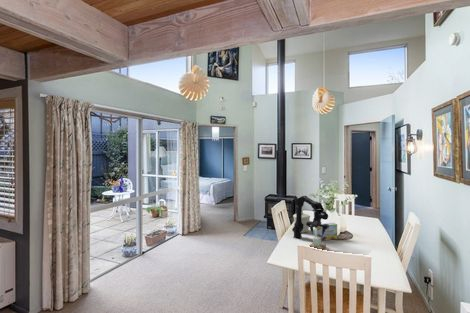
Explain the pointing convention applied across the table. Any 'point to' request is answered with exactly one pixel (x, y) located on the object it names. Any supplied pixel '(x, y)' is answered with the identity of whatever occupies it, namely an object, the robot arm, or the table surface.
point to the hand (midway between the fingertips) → (317, 234)
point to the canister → (303, 221)
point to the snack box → (327, 232)
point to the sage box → (317, 241)
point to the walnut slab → (318, 246)
